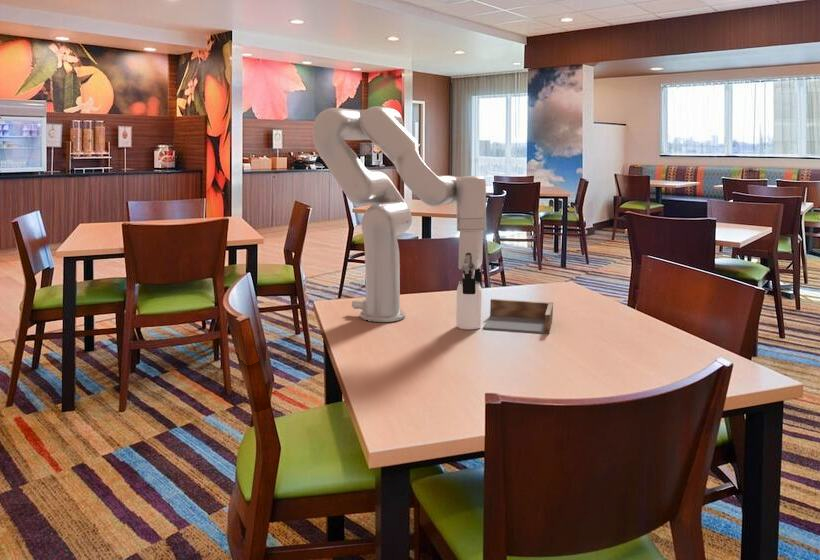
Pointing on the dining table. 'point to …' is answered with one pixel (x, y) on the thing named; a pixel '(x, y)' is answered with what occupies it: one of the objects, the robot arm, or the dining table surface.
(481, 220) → the robot arm
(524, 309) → the corner walls
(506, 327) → the mat
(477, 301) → the can
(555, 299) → the dining table surface
